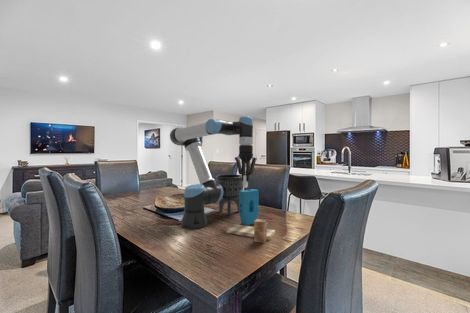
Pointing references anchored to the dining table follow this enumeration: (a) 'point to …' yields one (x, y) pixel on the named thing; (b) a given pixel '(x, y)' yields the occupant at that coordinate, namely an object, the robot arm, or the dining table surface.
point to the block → (248, 206)
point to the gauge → (260, 230)
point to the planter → (230, 190)
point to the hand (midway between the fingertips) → (245, 187)
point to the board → (247, 231)
